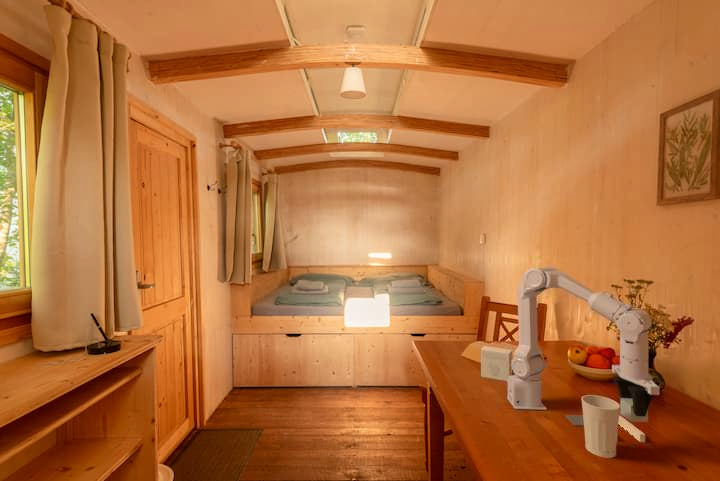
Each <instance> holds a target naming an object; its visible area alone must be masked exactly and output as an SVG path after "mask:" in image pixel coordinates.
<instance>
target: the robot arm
mask: <svg viewBox="0 0 720 481" xmlns="http://www.w3.org/2000/svg"><path fill="white" fill-rule="evenodd" d="M548 289H561V290H563V291H566V292H567V293H570V294H571V295H573V296H575V297H577V298H579V299H581V300H583V301H584V302H586V303H588V305H589V308H590V310H591V311H593V312H595V313H596V314H598V315H600V316H601V317H604V318H605V319H606V320H608V321H610V323H614V324H615V326H616V327H617V329H618V331H620V332H619V334H620V335H619V364H612V365H611V372H612V373H613V374H617V376H613V377H612V381H613V382H614V385H615V386H616V388H617V391H618V394H619V397H620V398H632V400H633V408H634V413H635V415H636V416H644V417H645V416H646V413H647V410H648V411H649V408H650V407H649V406H650V405H651V403H652V401H653V400H654V399H655V397H656V396H660V386H659V385H657V384H656V383H655V382H654V381H653V379H654V377H653V376H652V375H650V374H649V331H648V330H649V329H650V328H651V326H652V324H653V320H652V317H651V316H650V314H649V313H648V312H647V311H645V310H644V309H642V308H638V307H633V305H632V304H631V303H625V302H623V301H621V300H619V299H617V298H616V297H614V294H613V293H612V292H604V291H600V292H596V291H594V290H593V289H590V288H589V287H587V286H585V284H582V283H581V282H579V281H578V280H576V279H574V278H572V277H571V276H569V275H567V274H566V273H565V272H564V271H562V270H559V269H557V268H555V267H553V266H544V267H531V268H529V269H528V270H526V271H525V272H524V273H523V274H522V279H521V282H520V284H519V286H518V288H517V314H518V316H517V317H518V318H517V321H518V346H517V347H516V348H515V350H514V352H513V357H512V363H511V367H512V370H513V373H514V374H513V375H512V376H509V377H508V382H507V397H506V399H507V400H508V402H509V403H510V404H511V405H512V407H513V408H514V409H515V410H531V411H532V410H538V411H539V410H540V411H547V407H546V406H545V405H544V404H543V403H542V373H543V371H545V369H546V360H545V359H544V356H543V350H542V348H540V346H539V342H538V341H539V340H538V338H539V337H538V336H539V335H538V334H539V333H538V306H537V304H538V302H537V298H538V296H539V295H541V294H542V293H543V292H544V291H545V290H548Z"/></svg>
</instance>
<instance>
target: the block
mask: <svg viewBox="0 0 720 481" xmlns="http://www.w3.org/2000/svg"><path fill="white" fill-rule="evenodd" d="M619 405H620V413H619V415H621V416H622V417H623V418H624V417H625V419H626V420H627V419H628V420H627V421H630V422H634V423H635V422H637V423H638V422H641V423H642V422H643V423H649V409H648V410H647V413H646V416H645V417H644V416H636V415H635V413H634V408H633V400H632V398H620V403H619Z"/></svg>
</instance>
